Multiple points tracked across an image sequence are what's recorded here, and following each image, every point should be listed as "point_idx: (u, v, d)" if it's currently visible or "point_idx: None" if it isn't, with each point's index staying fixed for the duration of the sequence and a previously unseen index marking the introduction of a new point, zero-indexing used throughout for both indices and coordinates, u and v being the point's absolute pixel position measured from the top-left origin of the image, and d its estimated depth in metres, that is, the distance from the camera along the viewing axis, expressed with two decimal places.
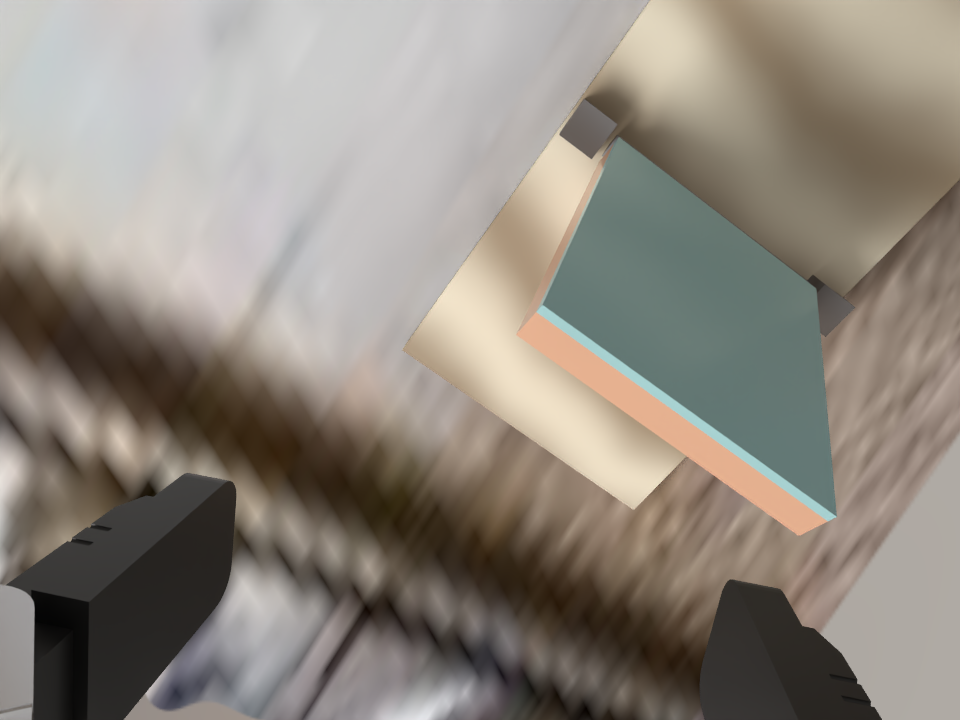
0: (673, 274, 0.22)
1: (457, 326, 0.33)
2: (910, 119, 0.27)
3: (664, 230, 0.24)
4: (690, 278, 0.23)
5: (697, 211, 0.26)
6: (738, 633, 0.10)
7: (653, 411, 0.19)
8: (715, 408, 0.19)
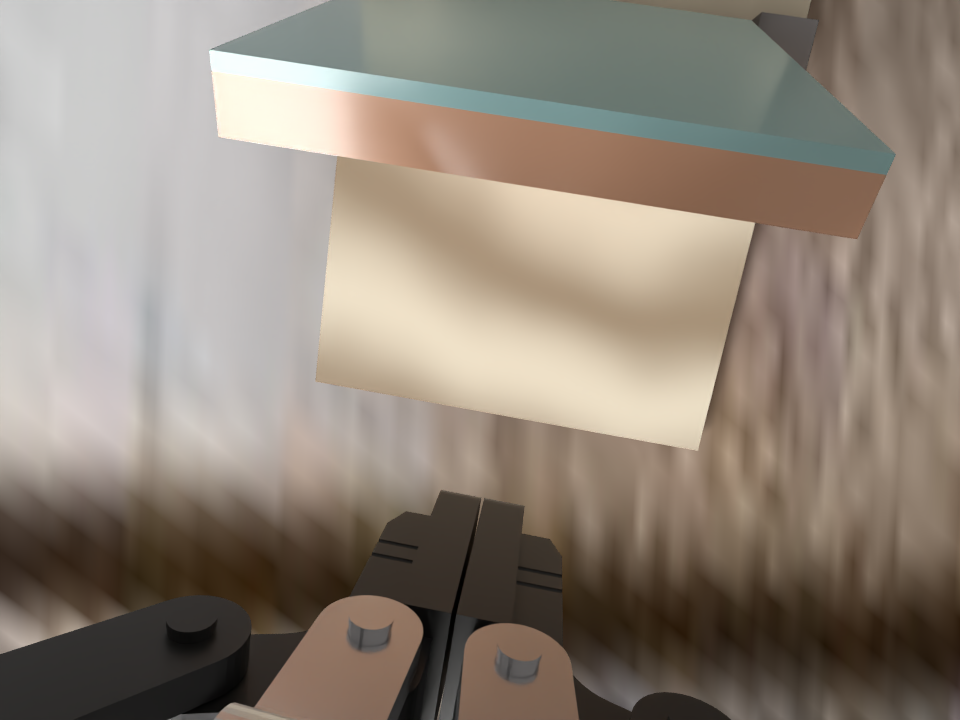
0: (494, 23, 0.15)
1: (362, 319, 0.25)
2: None
3: (477, 4, 0.17)
4: (526, 23, 0.15)
5: None
6: None
7: (483, 141, 0.11)
8: (588, 93, 0.11)
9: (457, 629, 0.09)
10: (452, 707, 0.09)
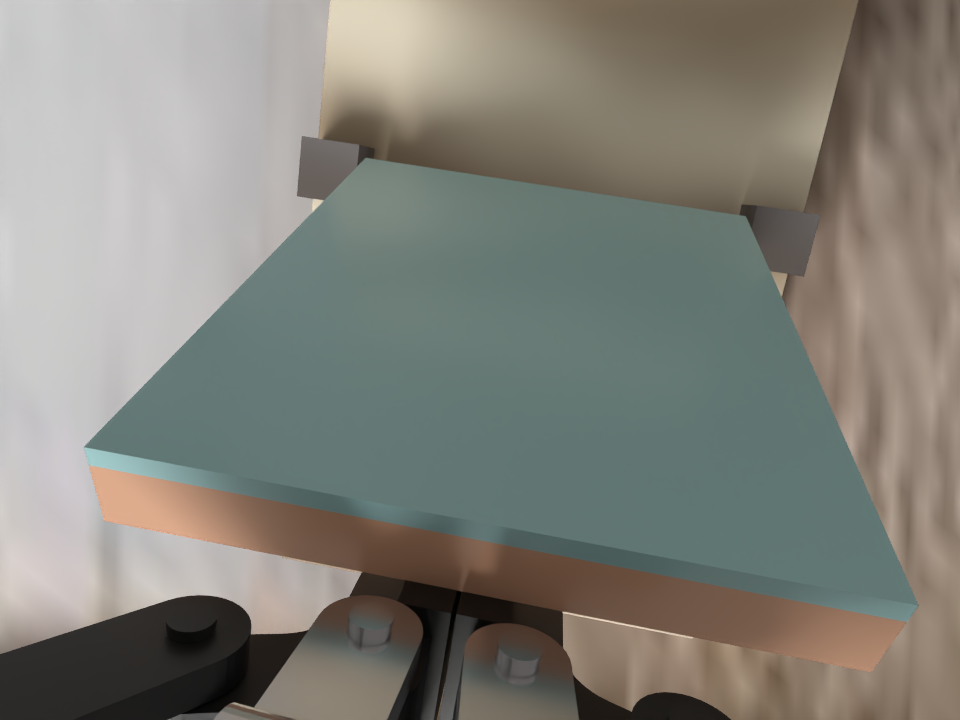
0: (451, 287, 0.13)
1: None
2: None
3: (438, 236, 0.15)
4: (489, 281, 0.13)
5: (508, 195, 0.17)
6: None
7: (417, 551, 0.09)
8: (544, 486, 0.09)
9: (457, 629, 0.09)
10: (452, 707, 0.09)
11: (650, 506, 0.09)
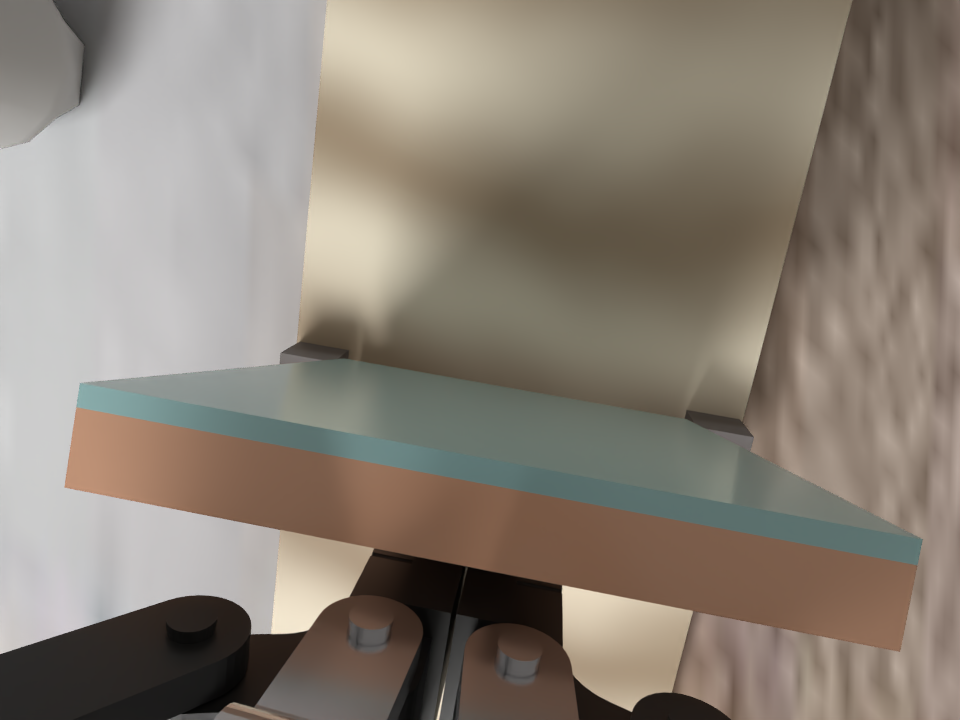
0: (431, 397, 0.14)
1: None
2: (687, 181, 0.20)
3: (415, 384, 0.16)
4: (465, 400, 0.14)
5: (475, 384, 0.19)
6: None
7: (409, 505, 0.08)
8: (539, 457, 0.09)
9: (457, 629, 0.09)
10: (452, 707, 0.09)
11: (644, 476, 0.09)
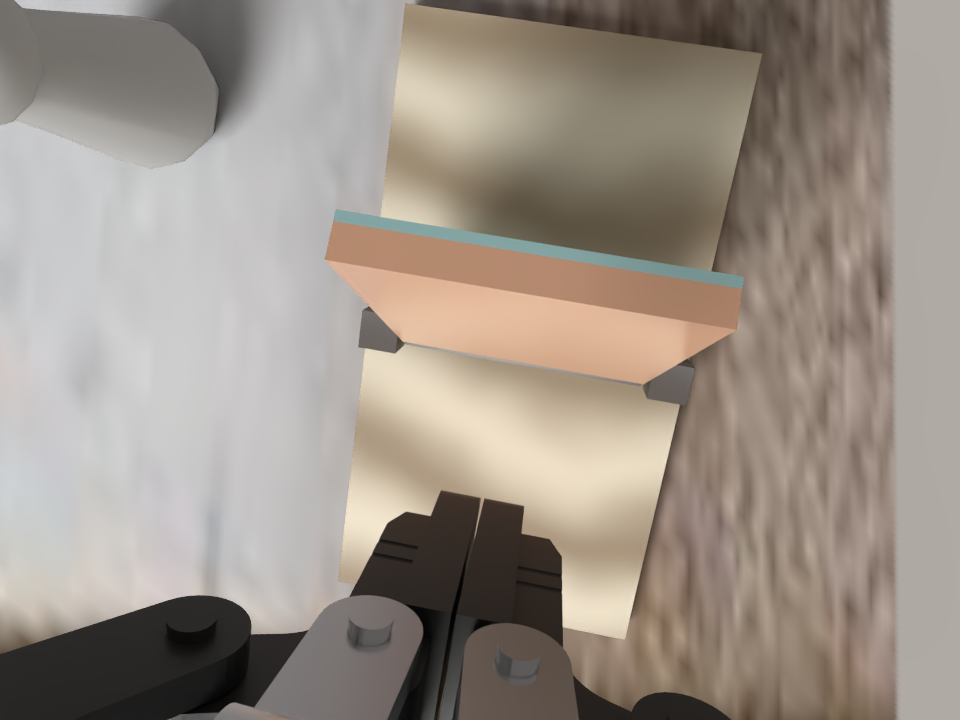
0: None
1: (373, 538, 0.33)
2: (648, 190, 0.28)
3: None
4: None
5: None
6: None
7: (499, 265, 0.17)
8: None
9: (457, 629, 0.09)
10: (452, 707, 0.09)
11: None
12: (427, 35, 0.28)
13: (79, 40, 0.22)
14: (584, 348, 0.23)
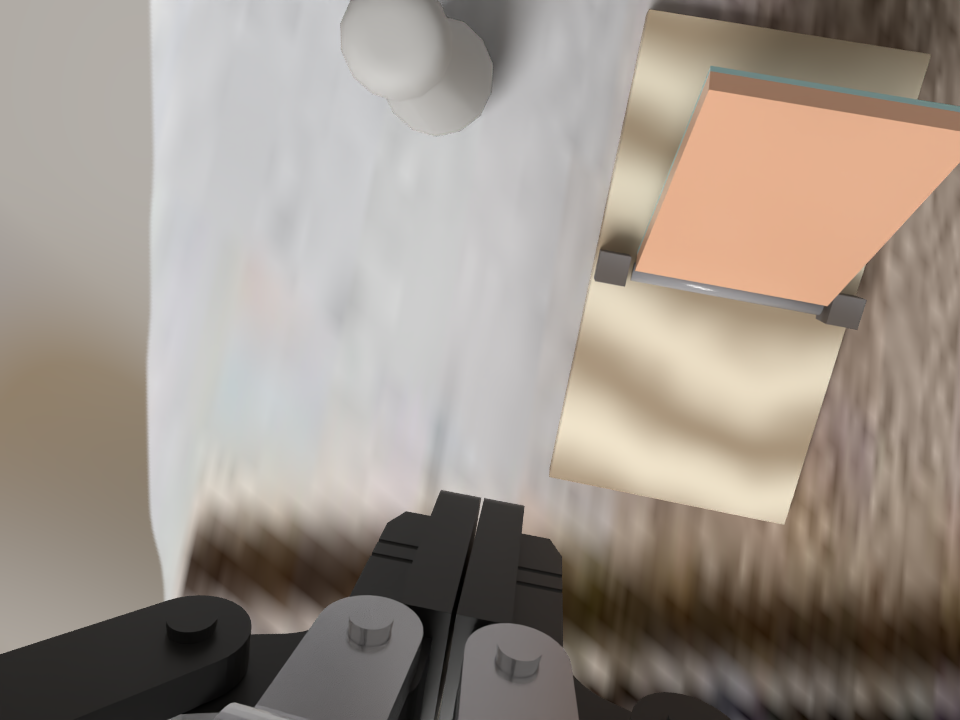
0: None
1: (582, 441, 0.41)
2: None
3: None
4: None
5: None
6: None
7: (823, 97, 0.26)
8: None
9: (457, 629, 0.09)
10: (452, 707, 0.09)
11: None
12: (664, 34, 0.36)
13: None
14: (822, 224, 0.31)
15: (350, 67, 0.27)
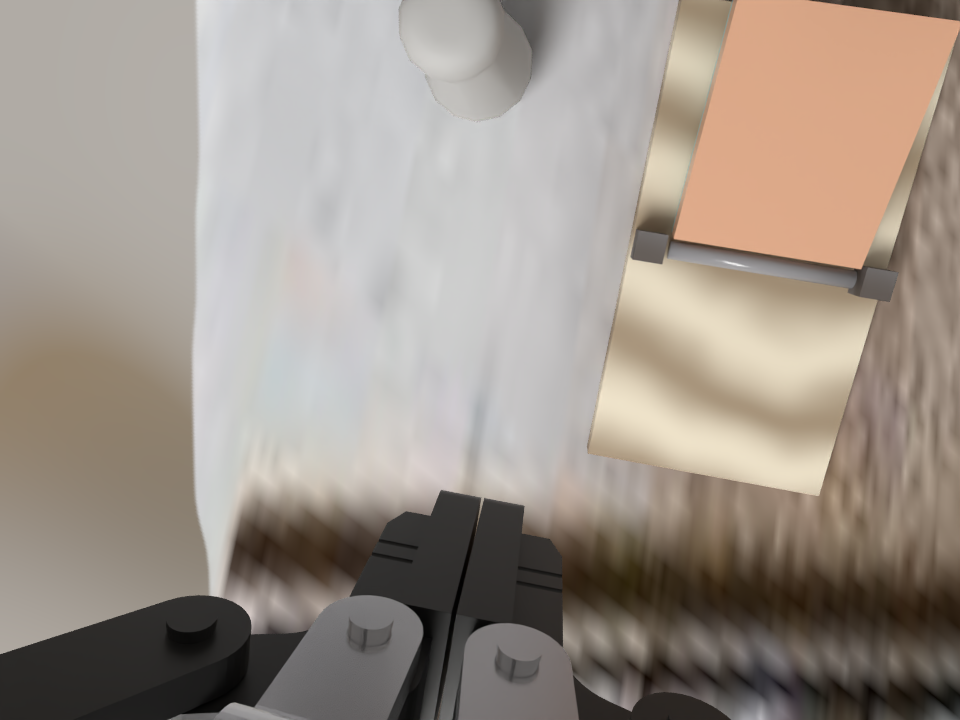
0: None
1: (620, 418, 0.42)
2: None
3: None
4: None
5: None
6: None
7: None
8: None
9: (457, 629, 0.09)
10: (452, 707, 0.09)
11: None
12: (698, 19, 0.37)
13: None
14: (845, 148, 0.35)
15: (408, 50, 0.28)
